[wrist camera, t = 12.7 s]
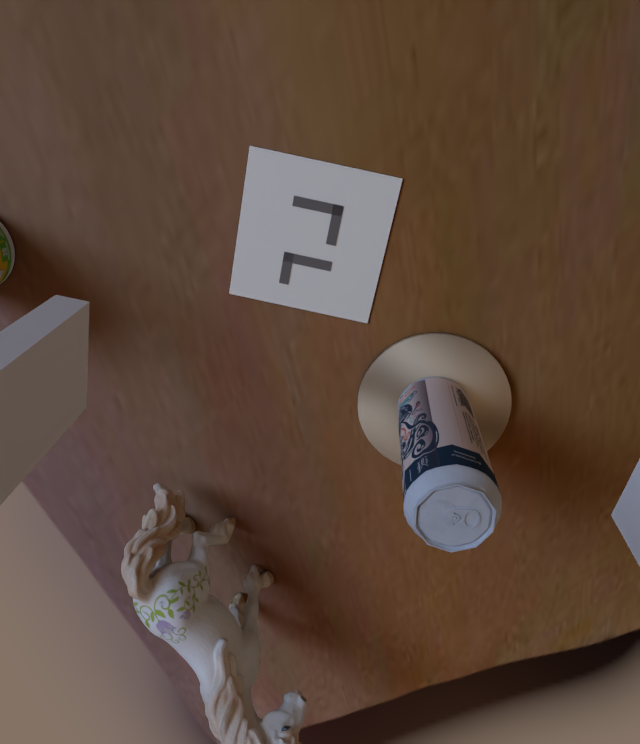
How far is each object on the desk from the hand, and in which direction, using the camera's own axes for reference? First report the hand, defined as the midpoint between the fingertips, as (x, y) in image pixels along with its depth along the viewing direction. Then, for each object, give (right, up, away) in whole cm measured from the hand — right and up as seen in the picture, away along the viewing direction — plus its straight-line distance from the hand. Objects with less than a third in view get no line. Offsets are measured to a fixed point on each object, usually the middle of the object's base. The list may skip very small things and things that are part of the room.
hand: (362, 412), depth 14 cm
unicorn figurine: (-5, -13, +33) cm, 36 cm away
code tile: (-1, +9, +23) cm, 25 cm away
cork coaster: (+7, -1, +27) cm, 27 cm away
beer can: (+6, -1, +26) cm, 27 cm away
